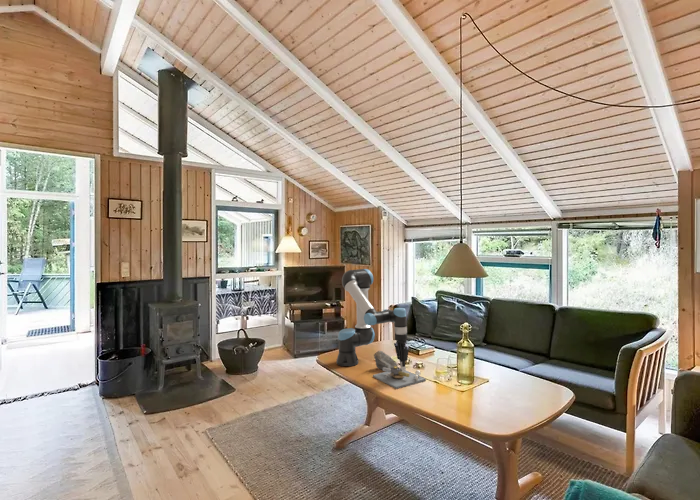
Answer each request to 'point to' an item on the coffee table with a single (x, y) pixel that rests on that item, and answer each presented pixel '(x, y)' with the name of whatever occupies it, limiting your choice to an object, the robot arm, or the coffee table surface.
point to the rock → (383, 360)
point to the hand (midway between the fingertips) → (403, 371)
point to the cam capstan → (395, 372)
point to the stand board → (400, 382)
